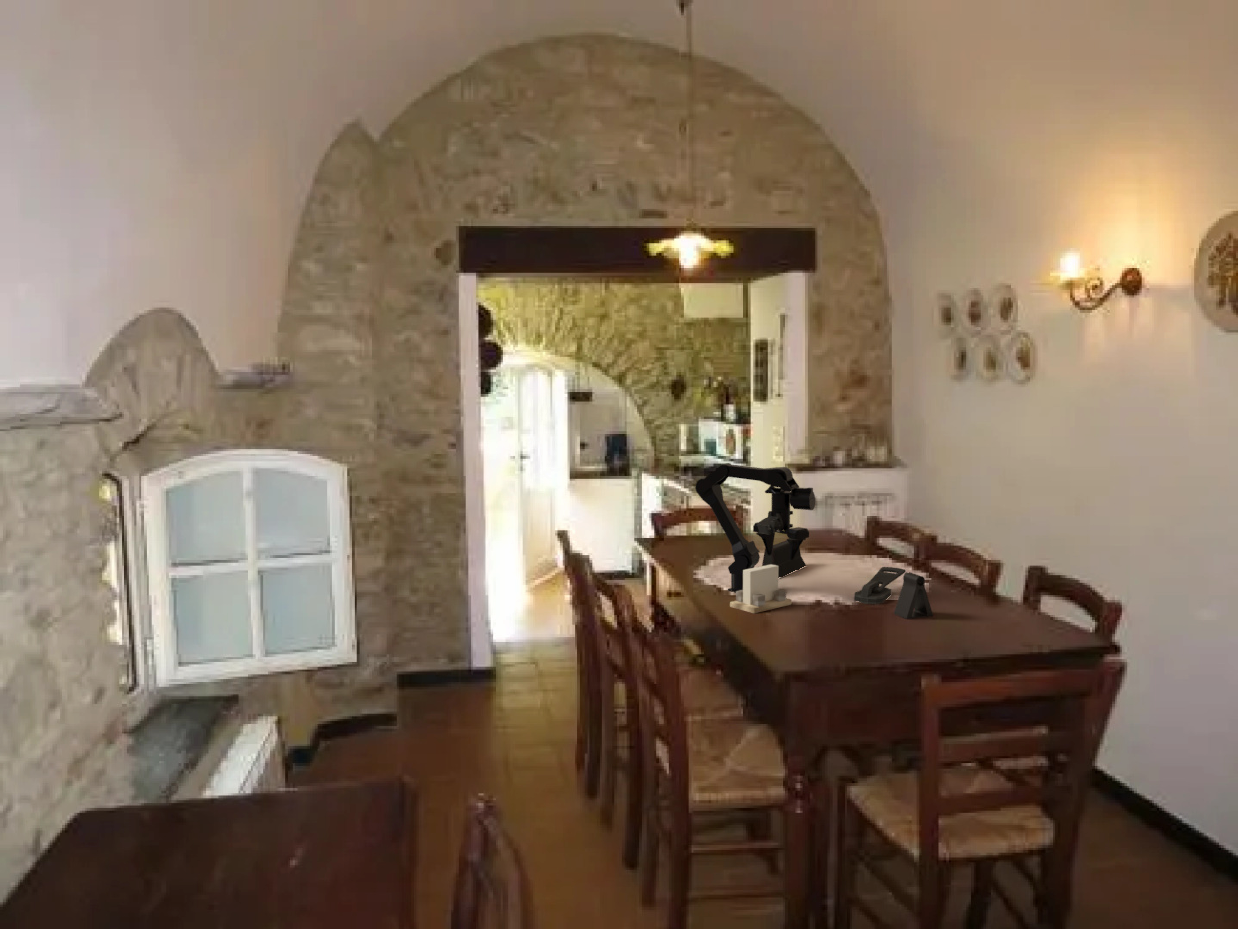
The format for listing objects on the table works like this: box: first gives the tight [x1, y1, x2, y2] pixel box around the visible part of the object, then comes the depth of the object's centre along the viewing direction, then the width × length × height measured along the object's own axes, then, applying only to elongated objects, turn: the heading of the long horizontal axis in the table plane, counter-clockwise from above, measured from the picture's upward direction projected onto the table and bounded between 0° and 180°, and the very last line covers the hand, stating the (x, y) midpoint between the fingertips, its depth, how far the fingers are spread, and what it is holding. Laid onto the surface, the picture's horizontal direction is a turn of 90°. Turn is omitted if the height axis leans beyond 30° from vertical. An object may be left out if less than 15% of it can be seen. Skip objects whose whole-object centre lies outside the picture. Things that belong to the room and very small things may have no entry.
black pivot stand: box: [893, 571, 934, 620], centre depth 280 cm, size 9×6×12 cm, turn 109°
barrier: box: [761, 539, 807, 578], centre depth 339 cm, size 24×9×10 cm, turn 145°
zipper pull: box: [853, 566, 907, 605], centre depth 304 cm, size 9×7×25 cm
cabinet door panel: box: [743, 564, 779, 605], centre depth 293 cm, size 3×12×10 cm, turn 128°
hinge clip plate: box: [729, 589, 792, 614], centre depth 293 cm, size 10×16×4 cm, turn 128°
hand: (780, 557), depth 305 cm, fingers open, 9 cm apart
